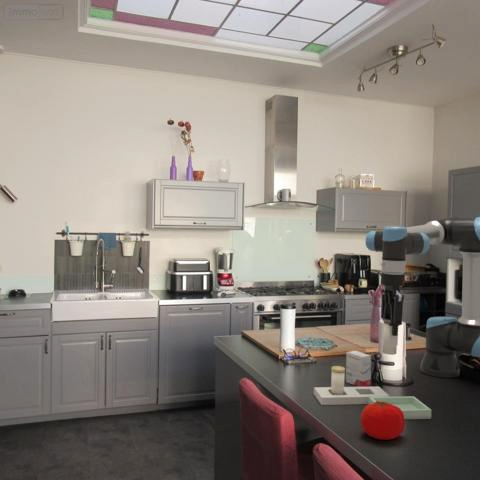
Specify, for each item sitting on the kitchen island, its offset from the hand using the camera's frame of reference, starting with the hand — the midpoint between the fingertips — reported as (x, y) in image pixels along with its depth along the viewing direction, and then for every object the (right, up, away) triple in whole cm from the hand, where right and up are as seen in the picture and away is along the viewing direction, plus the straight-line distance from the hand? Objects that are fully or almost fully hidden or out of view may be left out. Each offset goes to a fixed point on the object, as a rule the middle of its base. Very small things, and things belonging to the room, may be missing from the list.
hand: (390, 342), depth 165 cm
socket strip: (-11, -21, +8) cm, 25 cm away
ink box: (-5, -21, +24) cm, 32 cm away
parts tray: (+2, -22, -2) cm, 22 cm away
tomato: (-9, -23, -21) cm, 32 cm away
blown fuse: (0, -3, 0) cm, 3 cm away
